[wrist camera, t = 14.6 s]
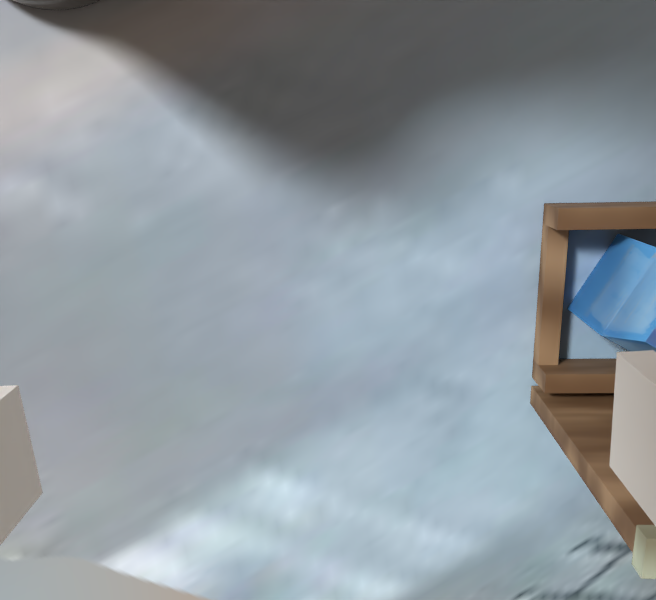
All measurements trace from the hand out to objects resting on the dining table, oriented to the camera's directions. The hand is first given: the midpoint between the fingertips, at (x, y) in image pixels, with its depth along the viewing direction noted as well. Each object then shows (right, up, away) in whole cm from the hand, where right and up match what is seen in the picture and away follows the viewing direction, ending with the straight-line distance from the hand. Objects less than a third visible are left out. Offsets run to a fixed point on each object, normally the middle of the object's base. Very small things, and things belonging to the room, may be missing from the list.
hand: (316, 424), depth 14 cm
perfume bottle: (+22, +3, +31) cm, 38 cm away
